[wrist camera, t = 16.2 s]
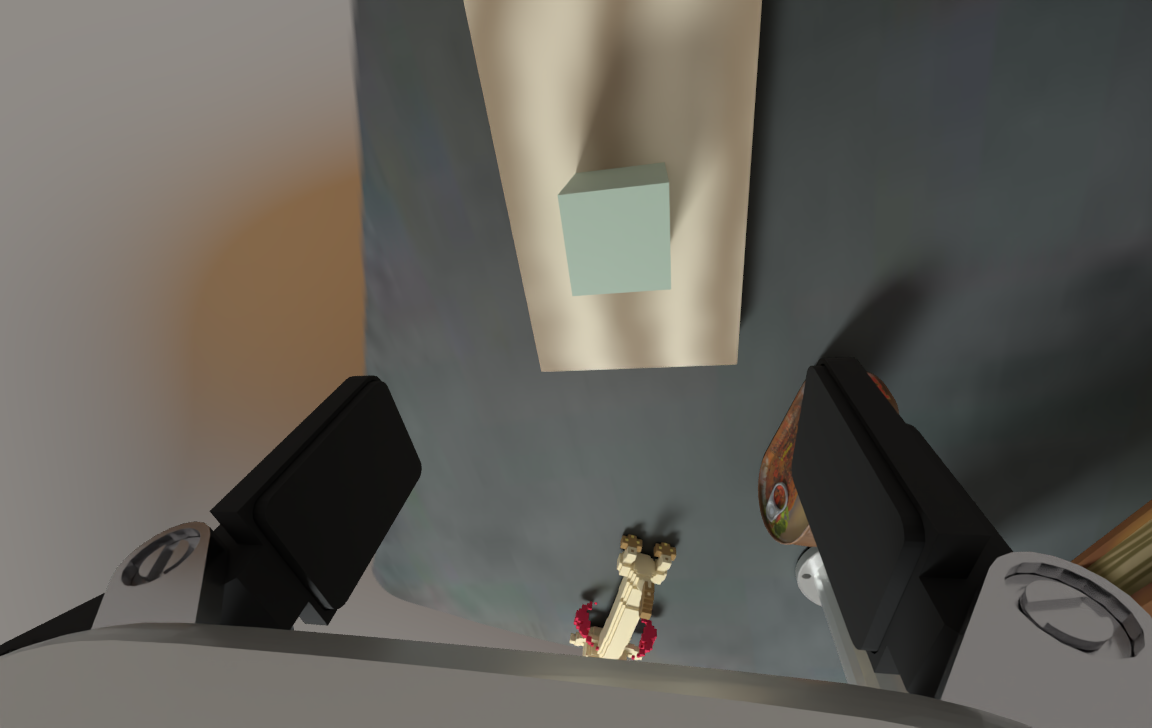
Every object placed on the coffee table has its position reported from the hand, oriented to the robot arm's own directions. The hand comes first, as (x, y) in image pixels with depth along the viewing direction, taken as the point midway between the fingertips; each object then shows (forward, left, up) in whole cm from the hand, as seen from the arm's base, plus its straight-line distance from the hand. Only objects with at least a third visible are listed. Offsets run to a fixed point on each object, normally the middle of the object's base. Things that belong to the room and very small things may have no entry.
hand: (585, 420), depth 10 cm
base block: (0, 0, -22) cm, 22 cm away
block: (0, 0, -19) cm, 19 cm away
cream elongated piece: (+4, +46, -23) cm, 52 cm away
